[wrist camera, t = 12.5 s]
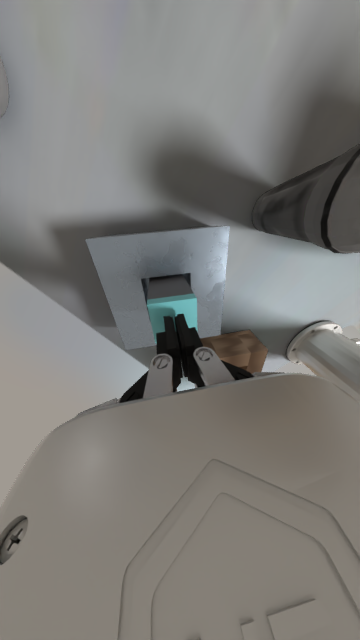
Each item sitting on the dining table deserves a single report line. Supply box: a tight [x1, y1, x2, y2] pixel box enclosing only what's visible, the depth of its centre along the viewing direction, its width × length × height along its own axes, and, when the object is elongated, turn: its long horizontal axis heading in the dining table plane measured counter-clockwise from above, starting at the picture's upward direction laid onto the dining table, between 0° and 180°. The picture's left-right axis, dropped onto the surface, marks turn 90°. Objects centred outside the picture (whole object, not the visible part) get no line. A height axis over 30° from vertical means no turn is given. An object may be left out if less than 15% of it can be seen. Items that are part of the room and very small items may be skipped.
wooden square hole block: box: [200, 330, 268, 374], centre depth 31 cm, size 12×12×6 cm
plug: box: [147, 274, 197, 343], centre depth 18 cm, size 4×4×11 cm
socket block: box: [85, 226, 230, 350], centre depth 21 cm, size 14×14×6 cm
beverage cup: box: [252, 144, 360, 253], centre depth 12 cm, size 7×7×20 cm
